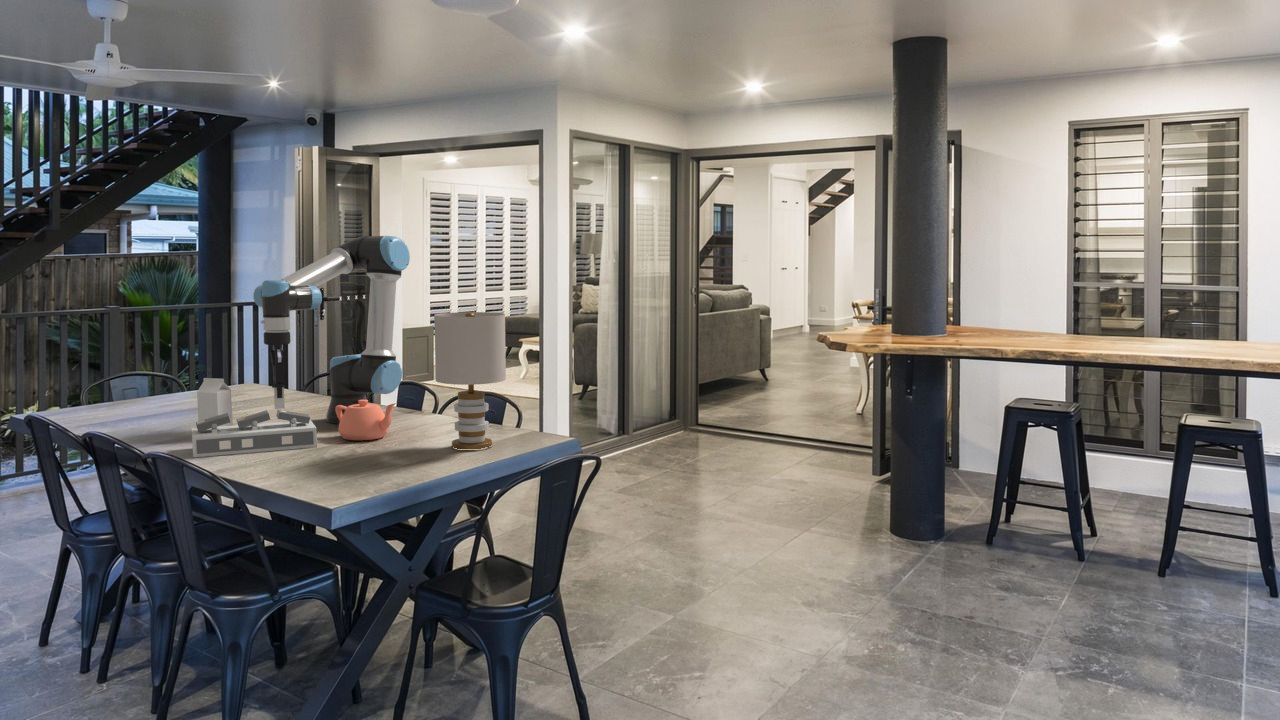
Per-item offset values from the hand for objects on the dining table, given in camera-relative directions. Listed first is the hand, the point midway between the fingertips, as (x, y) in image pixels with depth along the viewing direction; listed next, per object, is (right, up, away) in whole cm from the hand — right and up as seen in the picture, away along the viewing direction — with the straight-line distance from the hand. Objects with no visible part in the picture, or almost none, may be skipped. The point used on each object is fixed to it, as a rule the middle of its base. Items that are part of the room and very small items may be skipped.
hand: (279, 408), depth 283 cm
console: (-7, -12, -2) cm, 14 cm away
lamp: (+59, -12, 0) cm, 60 cm away
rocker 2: (+3, -3, +2) cm, 5 cm away
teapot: (+22, -10, +14) cm, 28 cm away
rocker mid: (-7, -4, -3) cm, 8 cm away
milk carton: (-25, -10, +13) cm, 30 cm away
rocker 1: (-17, -4, -8) cm, 19 cm away
